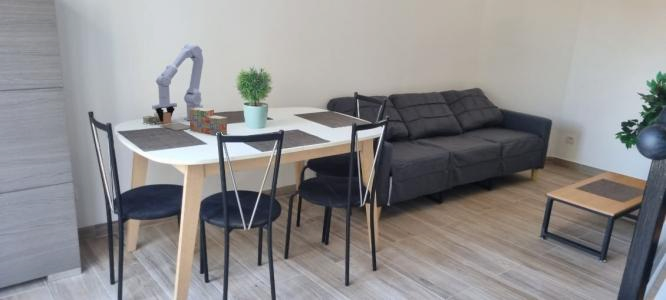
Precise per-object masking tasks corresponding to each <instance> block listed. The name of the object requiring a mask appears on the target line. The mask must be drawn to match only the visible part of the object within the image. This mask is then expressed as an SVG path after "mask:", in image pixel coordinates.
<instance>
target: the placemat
mask: <svg viewBox="0 0 666 300" xmlns="http://www.w3.org/2000/svg"><path fill="white" fill-rule="evenodd" d="M161 126H162V127H161ZM160 127H161V128H164V127H165V129H169V130H171V129H172V131H176V132H179V131H185V130H190V124H189V125H188V124H185V123H180V122H176V123H170V124H161V125H160Z"/></svg>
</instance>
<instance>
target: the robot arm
mask: <svg viewBox="0 0 666 300" xmlns="http://www.w3.org/2000/svg"><path fill="white" fill-rule="evenodd" d="M189 58H190V59H191V60H192V63H193V64H192V69H191V75H190V82H189V88H188V89H187V90H186V92H185V95H184V97H183V101H184V102H185V103H186V118H184V120H185V121H189V122H190V119H189V109H191V108H197V107H198V108H204V106H203V105H202V104H201V102H202V94H201V93H202V92H201V91H200V84H201V78H202V71H203V65H204V56H203V49H202V48H201V47H200V46H199V45H198V44H189V43H188V44H184V46H183V47H182V48H181V50H180V52H179V54H178V56H177V57H176V58H175V60H174V61H173V63H172V64H169V65H166V68H165V70H164V71H163V72H161V74H160V75H158V77H157V78H156V80H155V82H156V84H157V87H158V100H159V102H158V103H159V104H155V105H151V107H152V110H155V111H156V112H157V114H158V116H159V119H160V121H163V112H165V110H164V109H166V112H169V113H171V118H172V116H173V113H174V111H175V109H176V108H177V107H178V104H177V102H174V103H171V101H170V99H171V98H170V97H171V96H170V85H172V84H171V83H172V79H173V78H174V77H175V76H176V74H177V73H178V68H179V67H180V66H181V65H182V64H183V62H184V61H185V60H186V59H189ZM156 112H155V113H156Z"/></svg>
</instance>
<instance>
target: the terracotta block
mask: <svg viewBox="0 0 666 300" xmlns="http://www.w3.org/2000/svg"><path fill="white" fill-rule="evenodd" d="M161 123H163V124H162V125H168V123H170V124H172V117H171V113H169V112H167V111H163V121H160V122H159V124H161Z"/></svg>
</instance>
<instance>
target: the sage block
mask: <svg viewBox="0 0 666 300" xmlns="http://www.w3.org/2000/svg"><path fill="white" fill-rule="evenodd" d="M142 122H143V124H144V123H146V124H145V125H147V124H150V125H154V124H153V123H156V124H157V122H156V117H154V115H146V116H142Z"/></svg>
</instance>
